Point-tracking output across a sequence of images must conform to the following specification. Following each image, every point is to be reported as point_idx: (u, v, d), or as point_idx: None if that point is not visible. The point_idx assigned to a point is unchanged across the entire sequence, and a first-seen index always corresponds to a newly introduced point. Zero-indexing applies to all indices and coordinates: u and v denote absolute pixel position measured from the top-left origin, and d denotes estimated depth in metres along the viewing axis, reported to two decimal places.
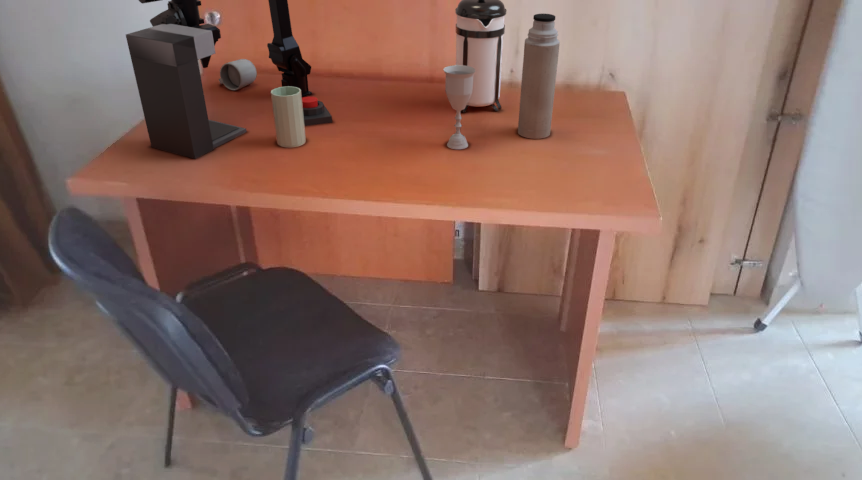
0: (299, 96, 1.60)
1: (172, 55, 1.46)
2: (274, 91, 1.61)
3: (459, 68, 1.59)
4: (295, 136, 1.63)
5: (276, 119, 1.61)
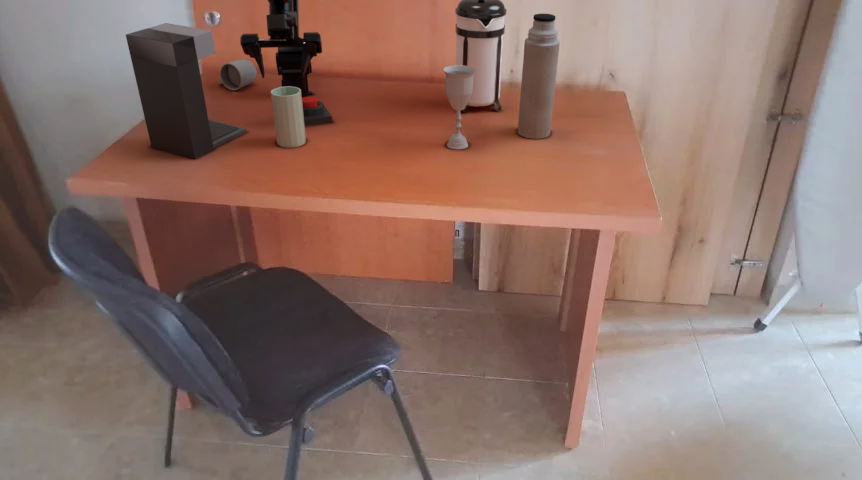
0: (299, 96, 1.60)
1: (172, 55, 1.46)
2: (274, 91, 1.61)
3: (459, 68, 1.59)
4: (295, 136, 1.63)
5: (276, 119, 1.61)
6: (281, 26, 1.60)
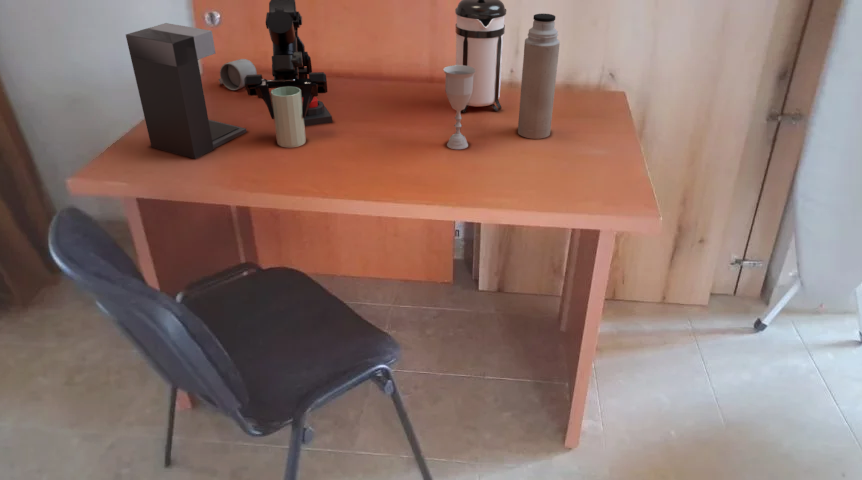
0: (299, 96, 1.60)
1: (172, 55, 1.46)
2: (274, 91, 1.61)
3: (459, 68, 1.59)
4: (295, 136, 1.63)
5: (276, 119, 1.61)
6: (287, 67, 1.57)
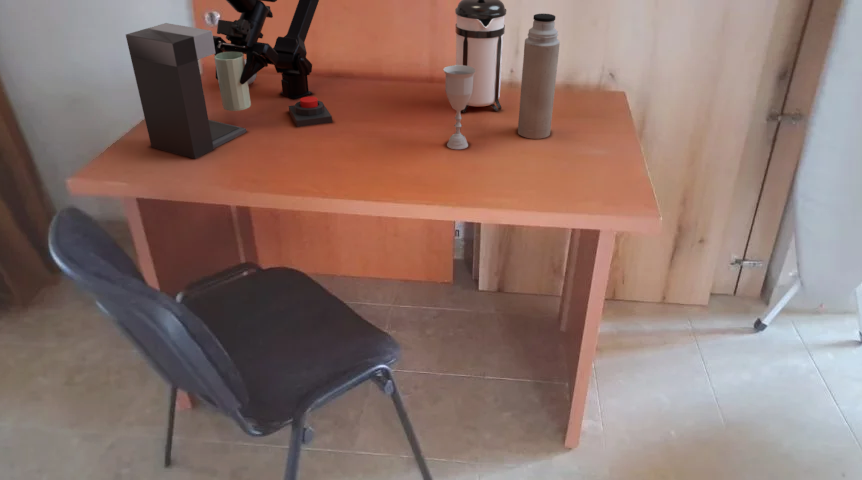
0: (235, 62, 1.65)
1: (172, 55, 1.46)
2: (223, 54, 1.69)
3: (459, 68, 1.59)
4: (231, 100, 1.69)
5: None
6: (226, 32, 1.62)
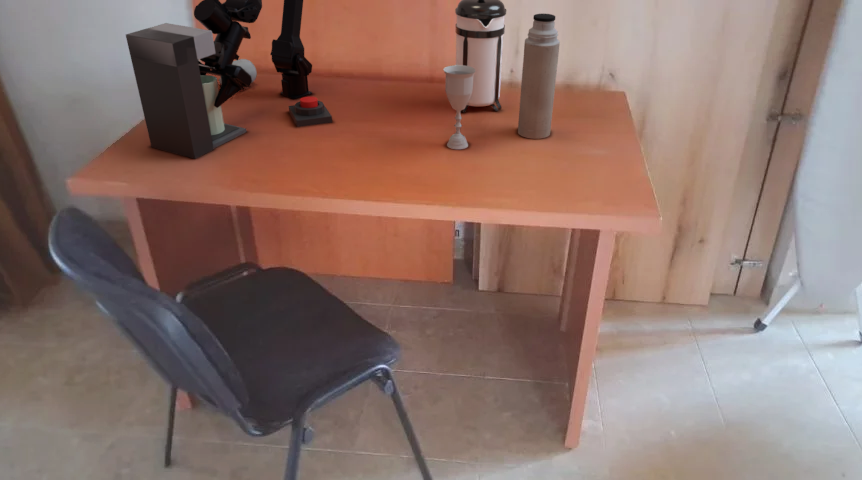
0: (207, 87, 1.61)
1: (172, 55, 1.46)
2: None
3: (459, 68, 1.59)
4: None
5: None
6: None
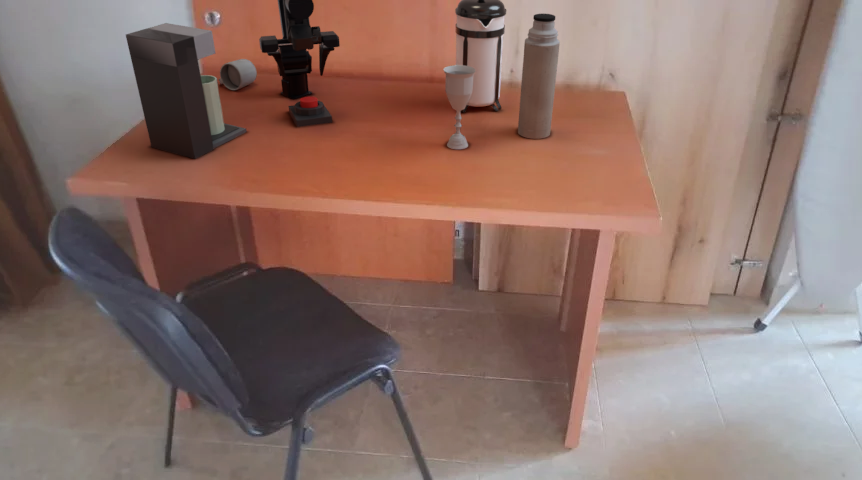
0: (207, 87, 1.61)
1: (172, 55, 1.46)
2: None
3: (459, 68, 1.59)
4: None
5: None
6: (308, 48, 1.63)
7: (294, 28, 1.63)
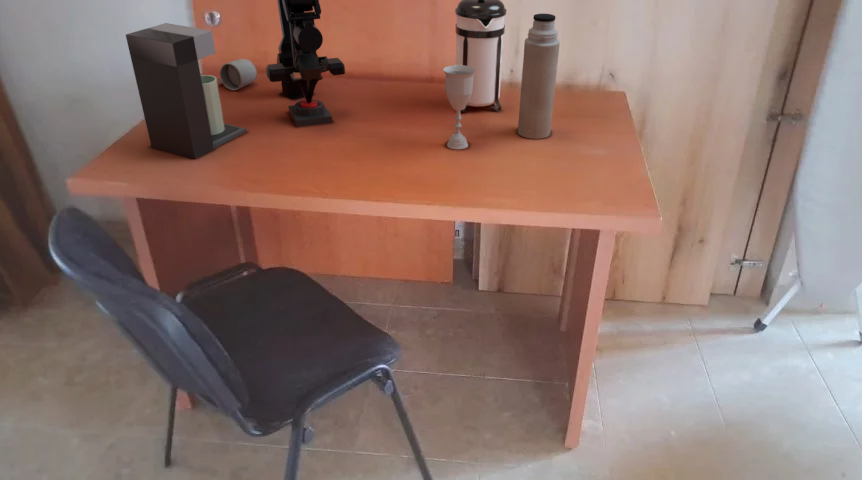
0: (207, 87, 1.61)
1: (172, 55, 1.46)
2: None
3: (459, 68, 1.59)
4: None
5: None
6: (316, 77, 1.68)
7: (302, 58, 1.67)
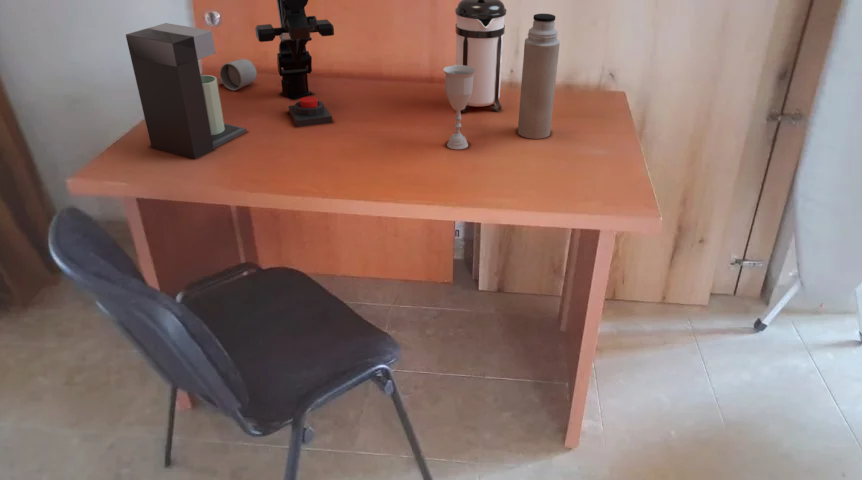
0: (207, 87, 1.61)
1: (172, 55, 1.46)
2: None
3: (459, 68, 1.59)
4: None
5: None
6: (304, 37, 1.68)
7: (290, 17, 1.68)
